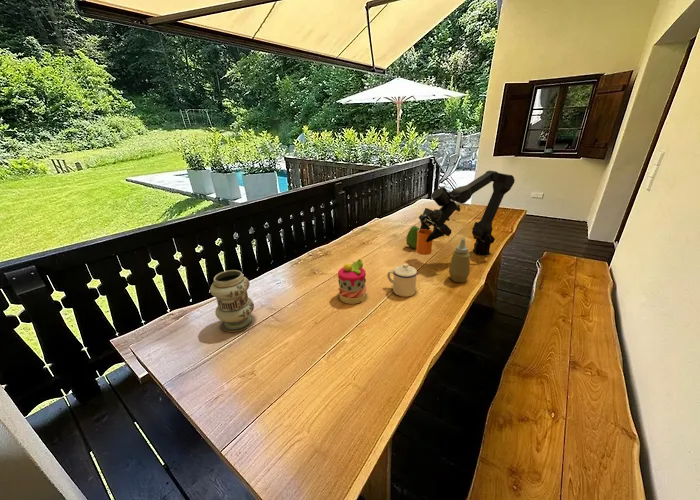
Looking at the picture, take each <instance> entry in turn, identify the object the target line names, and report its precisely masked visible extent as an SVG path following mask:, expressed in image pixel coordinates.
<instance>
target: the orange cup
mask: <svg viewBox="0 0 700 500" xmlns="http://www.w3.org/2000/svg"><path fill="white" fill-rule="evenodd" d="M432 232H433V229H429V230H428V229H421V230H420V229H419V230H418V231H417V246H416V248H415V249H416V251H415V252H416V253H417V254H418V255H423V256H428V255H431V254H432V250H433V240H432V241H429V242H426V240H427V238H428V237H429V235H430V234H431V233H432Z"/></svg>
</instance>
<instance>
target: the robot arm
mask: <svg viewBox="0 0 700 500" xmlns="http://www.w3.org/2000/svg"><path fill="white" fill-rule="evenodd" d="M515 181H516V179H515V177H514V176H513V174H508V173H502V172H498V171H496V170H486V172H484V174H482V175H480V176H478V177H477V178H476V179H474V180H472V181H471V182H468V184H465V185H461V186H458V187H456V188H453V189H452V190H451V191H448V190H447V188H446V187H445V186H441V187H439V188H437V189H436V190H434V191H433V192H432V193H431V194H430V197H431V199H432V200H433V201H434V202H435V203H436V205H437V206H438V207H439V209H438V208H437V209H435V208H434V209H433V210H432V209H430V208H427V207H425V208H424V210H423V213H422V214H420V215H419V216H418V219H419V222H420V227H419V230H421V229H428V230H431V226H432V227H433V229H432V231H433V232H432V233H431V234H430V235H429V237H428V238H427V240H426V242H429V241H432V242H433V241H434V240H436V239H438V238H441V237H445V236H446V237H448V238H449V237H450V235H452V231H453V230H452V229H451V228H450V227H449V225H447V224H446V222H450V220H451V218H450V217H451V216H452V215H453V214H454V212H455V211H456V212H461V205H462V204H465V203H467V202H469V200H470V199H471V198H472V196H473V195H474V194H475V193H477V192H478V191H480V190H482V189H483V188H484V187H485V186H488V185H489V184H490V183H492V194H491V195H490V197H489V200H488V203H487V205H486V208H485V210H484V212H483V215H482V217H481V219H480V220H479V221H475V222H474V225H473V227H472V228H471V234H472V236H473V240H475V242H474V245H473V248H472V250H473V252H474V253H475V254H476V255H479V256H480V255H481V256H482V255H483V256H484V255H488V256H489V255H491V252H490V249H491V245H492V244H494V242H495V240H496V239H495V237H494V235H492V233H493V222H494V220H495V216H496V214H497V212H498V210H499V207H500V205H501V203H502V200H503V198H504V197H505V195H506V194H507V193H508V192H510V191H511V189H512V188H513V186H514V184H515ZM460 204H461V205H460Z"/></svg>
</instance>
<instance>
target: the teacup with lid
mask: <svg viewBox="0 0 700 500" xmlns="http://www.w3.org/2000/svg"><path fill="white" fill-rule="evenodd" d="M390 274H393V278H391V275H390ZM417 275H418V270H417V268H415V267H413V266H411V265H409V264H408V263H403V264H402V265H397V266H395V267H394V268H393V270H389V271H388V272H387V275H386V277H387V279H388V282H390V283H392V291H393V293H394V294H395V295H397V296H399V297H412V296H413V295H414V294H416V288H417V287H416V286H417Z"/></svg>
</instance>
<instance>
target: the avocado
mask: <svg viewBox="0 0 700 500" xmlns="http://www.w3.org/2000/svg"><path fill="white" fill-rule="evenodd" d="M418 230H420V227H418V226H417V225H412V226H411V227H410V229H409V231H408V232H407V235H406V239H405V242H406V244H407V247H409V248H411V249H416V246H417V231H418Z"/></svg>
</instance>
